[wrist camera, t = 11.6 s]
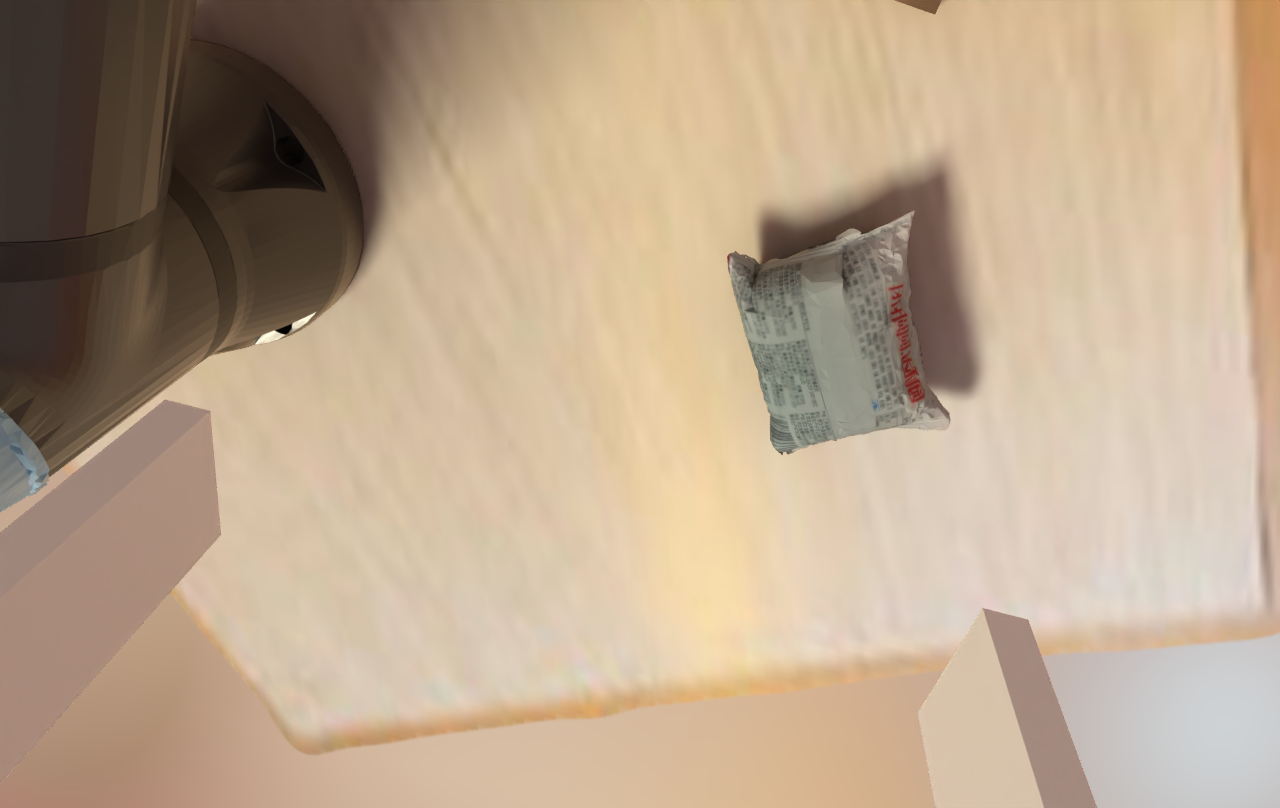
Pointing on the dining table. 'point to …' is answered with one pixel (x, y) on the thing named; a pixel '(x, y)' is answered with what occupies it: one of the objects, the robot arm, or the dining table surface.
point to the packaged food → (836, 338)
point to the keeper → (923, 4)
